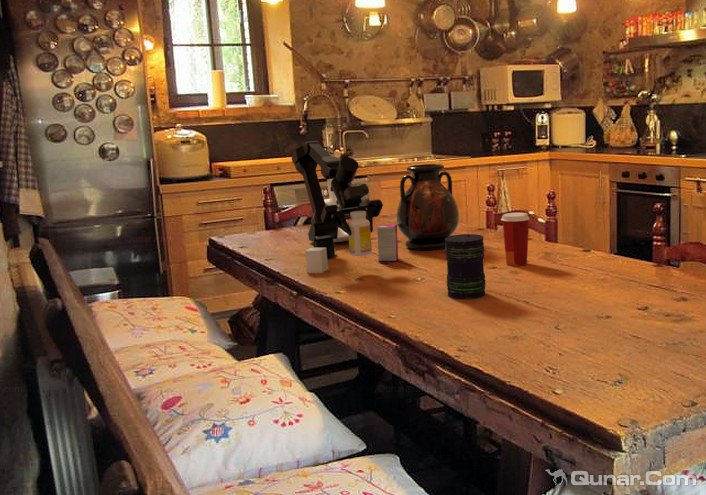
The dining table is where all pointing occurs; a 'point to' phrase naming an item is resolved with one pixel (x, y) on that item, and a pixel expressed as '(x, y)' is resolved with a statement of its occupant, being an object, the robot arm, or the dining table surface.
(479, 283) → the storage jar
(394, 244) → the supplement box
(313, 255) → the grey block
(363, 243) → the supplement bottle
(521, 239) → the coffee cup
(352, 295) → the dining table surface
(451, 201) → the amphora vase
